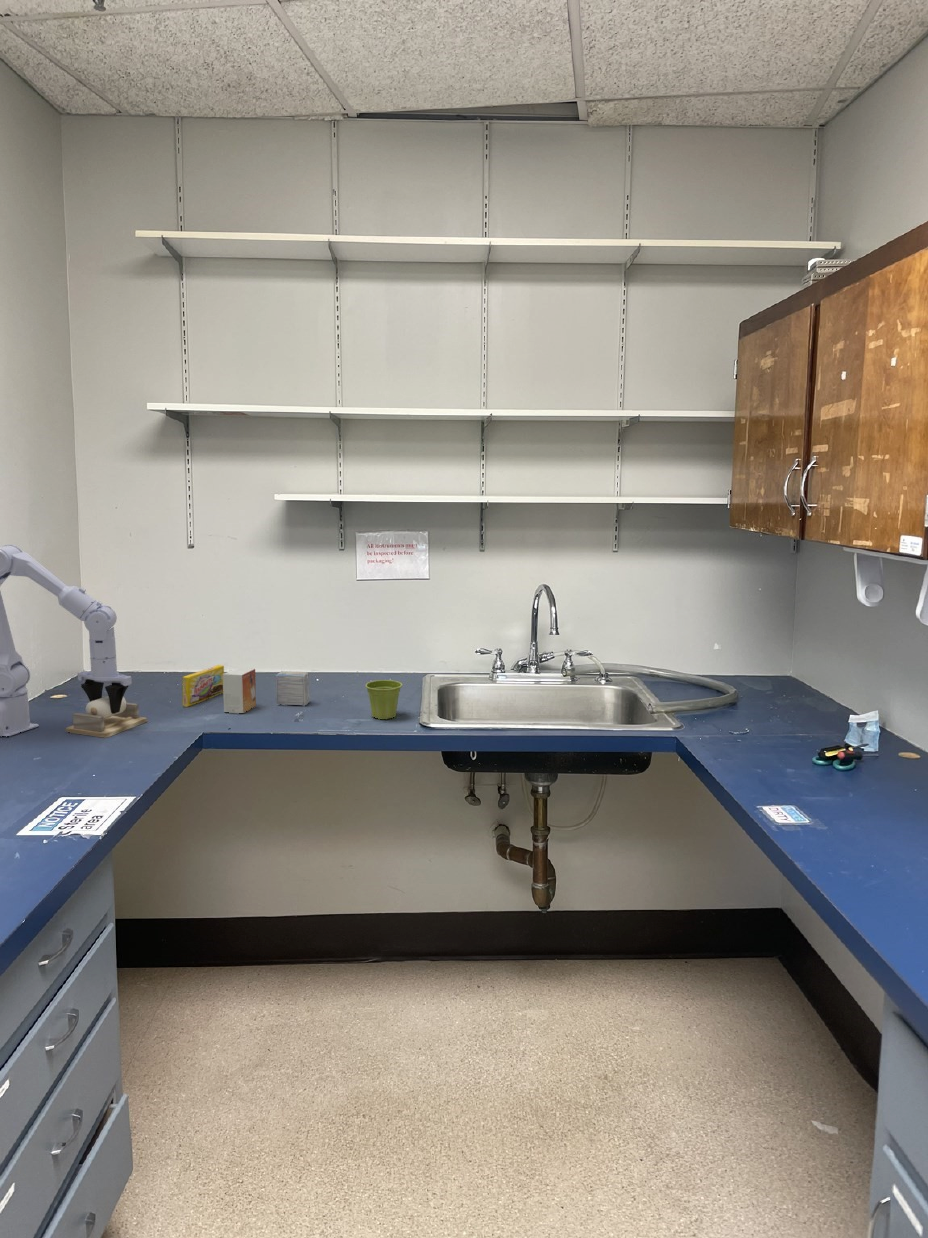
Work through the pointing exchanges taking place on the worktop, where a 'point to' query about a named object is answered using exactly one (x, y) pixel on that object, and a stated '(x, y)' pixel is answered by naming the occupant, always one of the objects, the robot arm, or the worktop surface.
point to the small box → (239, 690)
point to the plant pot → (383, 698)
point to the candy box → (202, 685)
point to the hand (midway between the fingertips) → (106, 711)
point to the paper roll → (103, 707)
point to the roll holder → (106, 722)
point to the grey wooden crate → (292, 688)
